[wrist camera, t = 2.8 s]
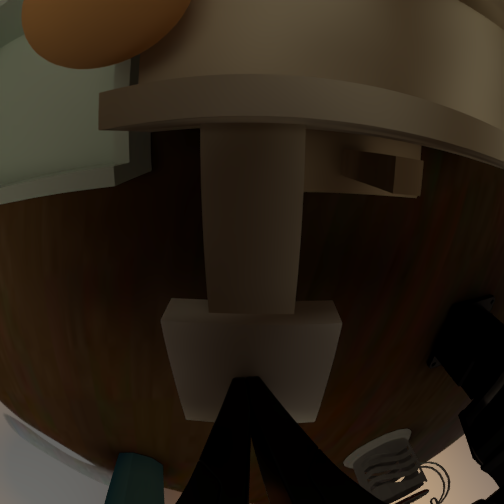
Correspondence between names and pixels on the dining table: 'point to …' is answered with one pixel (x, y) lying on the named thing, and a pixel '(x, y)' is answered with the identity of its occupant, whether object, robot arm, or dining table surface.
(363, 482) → the french press
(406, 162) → the stand
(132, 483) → the cup
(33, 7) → the ball
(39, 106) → the tray
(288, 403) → the lever
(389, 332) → the dining table surface
